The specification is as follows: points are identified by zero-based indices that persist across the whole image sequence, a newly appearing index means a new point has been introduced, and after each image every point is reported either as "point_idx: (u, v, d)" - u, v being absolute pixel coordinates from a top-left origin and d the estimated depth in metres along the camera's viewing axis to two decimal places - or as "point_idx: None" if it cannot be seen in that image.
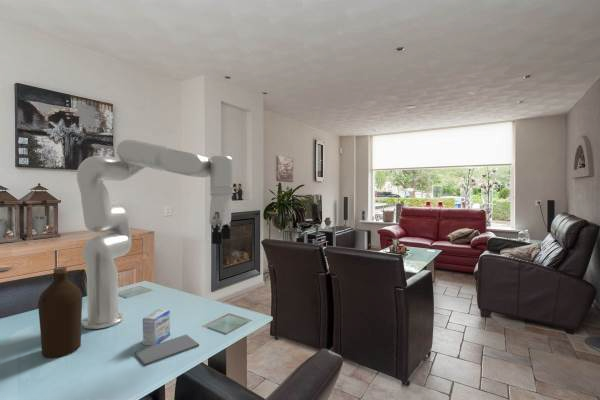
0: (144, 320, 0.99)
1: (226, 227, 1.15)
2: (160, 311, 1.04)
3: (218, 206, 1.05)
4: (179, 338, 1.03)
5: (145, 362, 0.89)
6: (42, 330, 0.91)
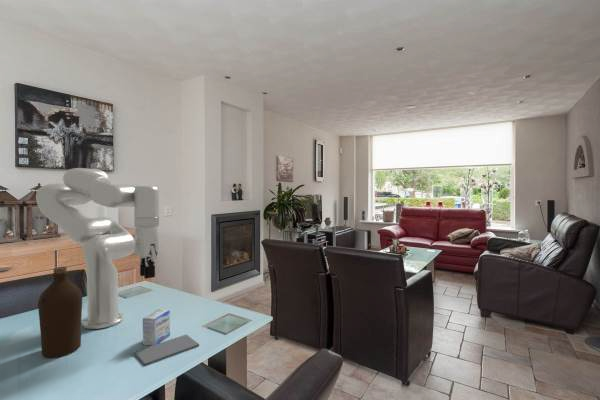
0: (144, 320, 0.99)
1: None
2: (160, 311, 1.04)
3: (153, 238, 1.04)
4: (179, 338, 1.03)
5: (145, 362, 0.89)
6: (42, 330, 0.91)
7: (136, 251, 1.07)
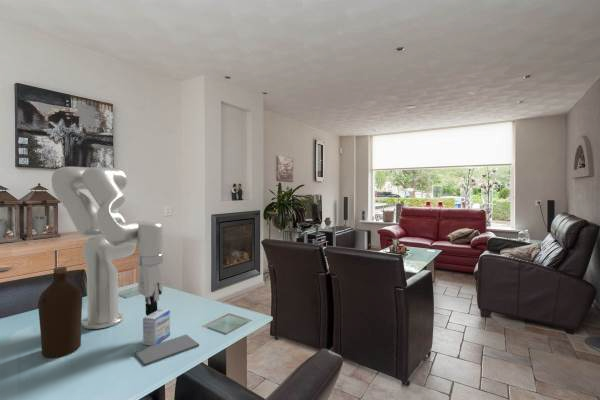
0: (144, 320, 0.99)
1: None
2: (160, 311, 1.04)
3: (157, 276, 1.03)
4: (179, 338, 1.03)
5: (145, 362, 0.89)
6: (42, 330, 0.91)
7: (140, 289, 1.05)
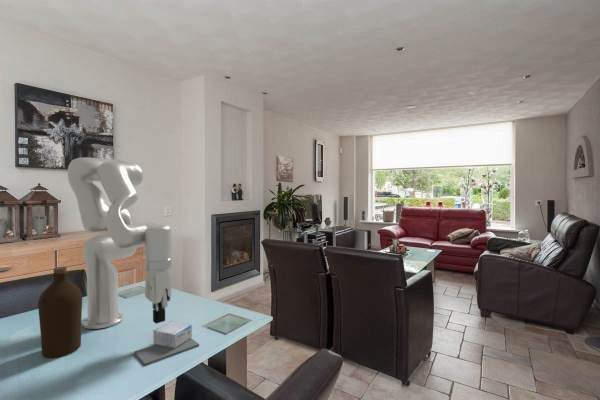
0: (173, 336, 0.96)
1: None
2: (187, 334, 1.01)
3: (166, 282, 0.98)
4: None
5: (145, 362, 0.89)
6: (42, 330, 0.91)
7: (147, 295, 1.00)
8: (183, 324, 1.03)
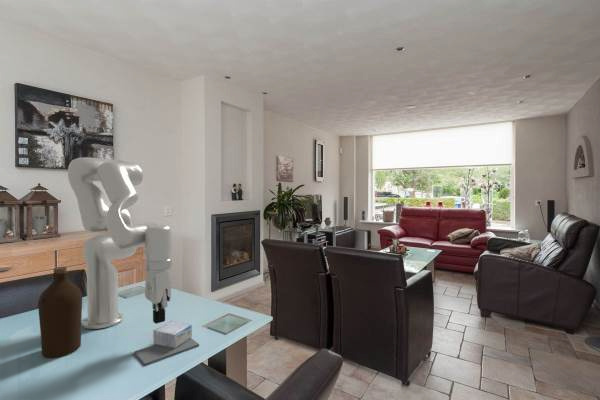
0: (173, 336, 0.96)
1: None
2: (187, 334, 1.01)
3: (166, 282, 0.98)
4: None
5: (145, 362, 0.89)
6: (42, 330, 0.91)
7: (147, 295, 1.00)
8: (183, 324, 1.03)
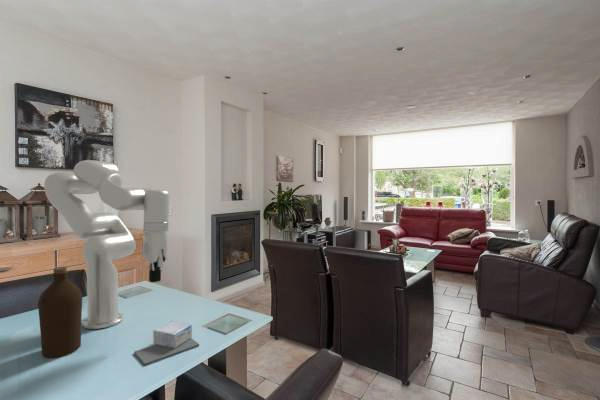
0: (173, 336, 0.96)
1: None
2: (187, 334, 1.01)
3: (162, 243, 1.03)
4: None
5: (145, 362, 0.89)
6: (42, 330, 0.91)
7: (144, 255, 1.06)
8: (183, 324, 1.03)
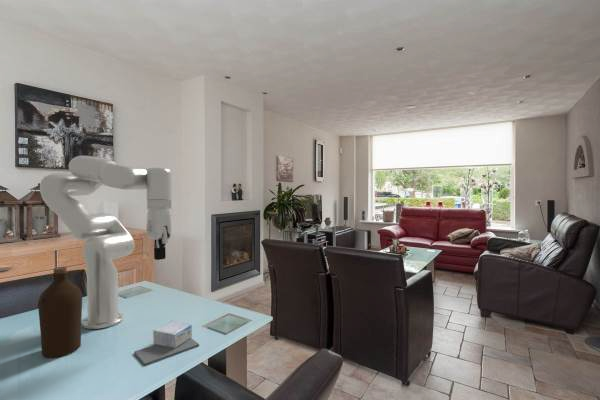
0: (173, 336, 0.96)
1: None
2: (187, 334, 1.01)
3: (166, 219, 1.04)
4: None
5: (145, 362, 0.89)
6: (42, 330, 0.91)
7: (148, 233, 1.07)
8: (183, 324, 1.03)
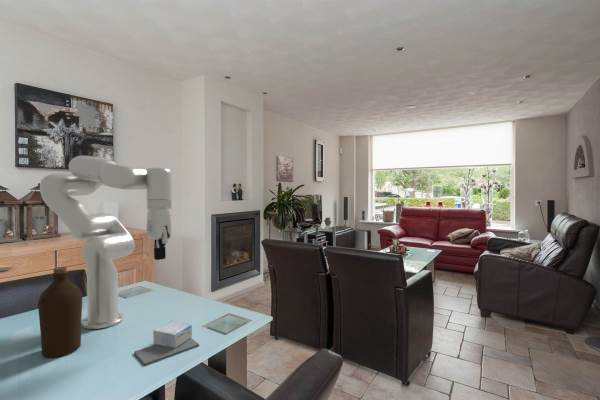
0: (173, 336, 0.96)
1: None
2: (187, 334, 1.01)
3: (166, 219, 1.04)
4: None
5: (145, 362, 0.89)
6: (42, 330, 0.91)
7: (148, 233, 1.07)
8: (183, 324, 1.03)
